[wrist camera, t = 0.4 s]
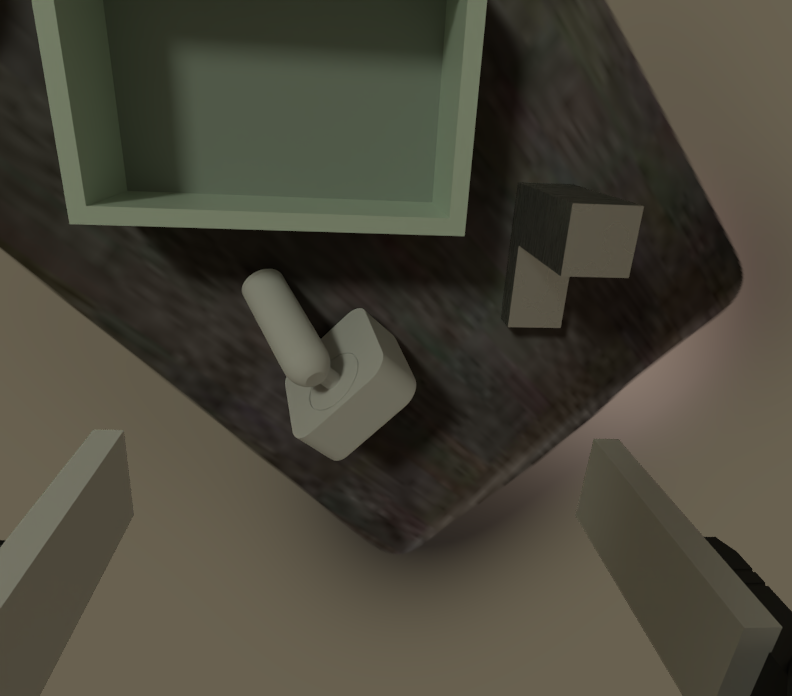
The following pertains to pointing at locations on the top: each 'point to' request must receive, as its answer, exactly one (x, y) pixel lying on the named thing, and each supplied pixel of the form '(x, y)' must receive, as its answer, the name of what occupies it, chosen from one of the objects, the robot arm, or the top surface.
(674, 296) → the top surface
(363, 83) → the open box
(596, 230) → the grey l-shaped block
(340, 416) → the wall hook
